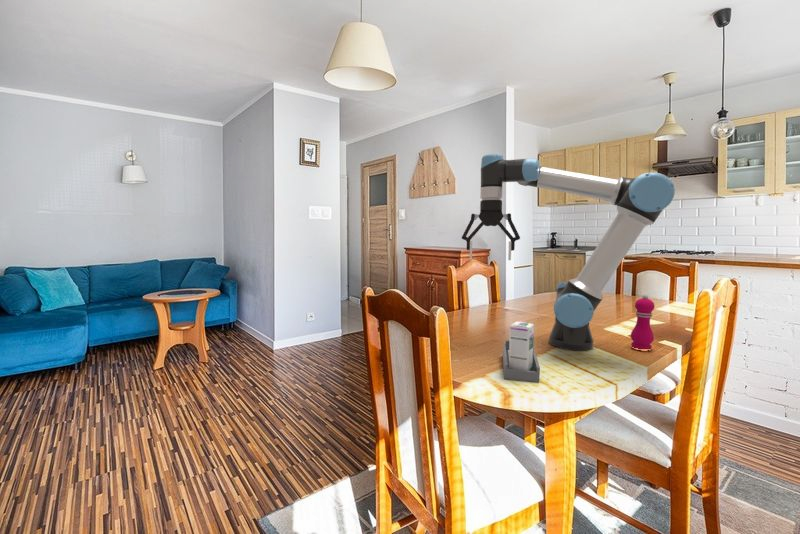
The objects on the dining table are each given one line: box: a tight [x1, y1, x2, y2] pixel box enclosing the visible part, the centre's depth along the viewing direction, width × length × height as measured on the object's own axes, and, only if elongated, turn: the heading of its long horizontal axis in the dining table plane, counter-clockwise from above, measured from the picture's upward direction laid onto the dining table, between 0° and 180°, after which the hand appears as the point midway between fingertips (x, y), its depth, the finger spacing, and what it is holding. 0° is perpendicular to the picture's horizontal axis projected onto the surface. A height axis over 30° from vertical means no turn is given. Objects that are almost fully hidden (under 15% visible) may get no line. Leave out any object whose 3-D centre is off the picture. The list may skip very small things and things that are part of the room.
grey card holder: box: [502, 339, 541, 383], centre depth 125 cm, size 20×10×6 cm, turn 167°
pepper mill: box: [630, 293, 655, 350], centre depth 146 cm, size 7×7×20 cm
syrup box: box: [508, 321, 535, 371], centre depth 120 cm, size 6×6×14 cm
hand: (490, 259), depth 146 cm, fingers open, 13 cm apart
